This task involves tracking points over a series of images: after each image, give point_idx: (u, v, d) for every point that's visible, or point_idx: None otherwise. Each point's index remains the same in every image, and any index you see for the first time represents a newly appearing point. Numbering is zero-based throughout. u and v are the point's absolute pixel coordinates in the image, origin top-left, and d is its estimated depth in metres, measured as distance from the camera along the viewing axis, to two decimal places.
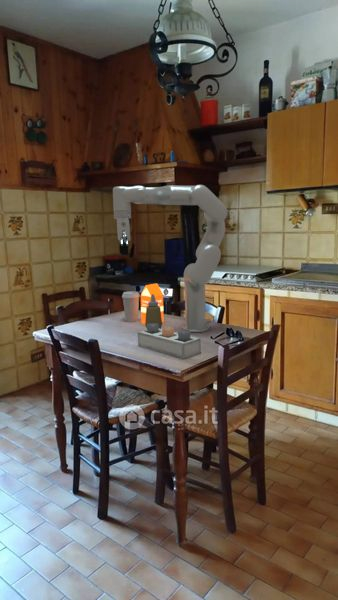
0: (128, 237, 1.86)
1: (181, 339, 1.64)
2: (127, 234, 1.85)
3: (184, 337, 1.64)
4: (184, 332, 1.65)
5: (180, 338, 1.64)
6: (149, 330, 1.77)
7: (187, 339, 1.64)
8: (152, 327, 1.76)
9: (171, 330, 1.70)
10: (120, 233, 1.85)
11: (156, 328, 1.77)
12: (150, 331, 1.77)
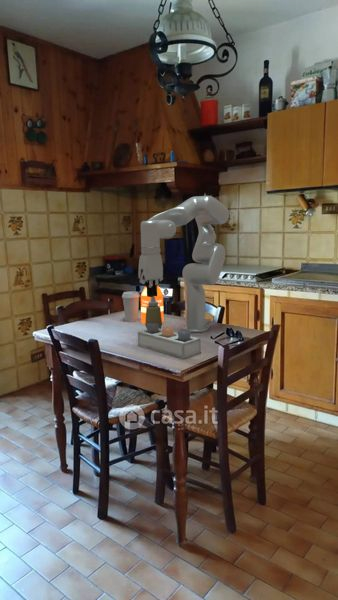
0: None
1: (181, 339, 1.64)
2: None
3: (184, 337, 1.64)
4: (184, 332, 1.65)
5: (180, 338, 1.64)
6: (149, 330, 1.77)
7: (187, 339, 1.64)
8: (152, 327, 1.76)
9: (171, 330, 1.70)
10: None
11: (156, 328, 1.77)
12: (150, 331, 1.77)
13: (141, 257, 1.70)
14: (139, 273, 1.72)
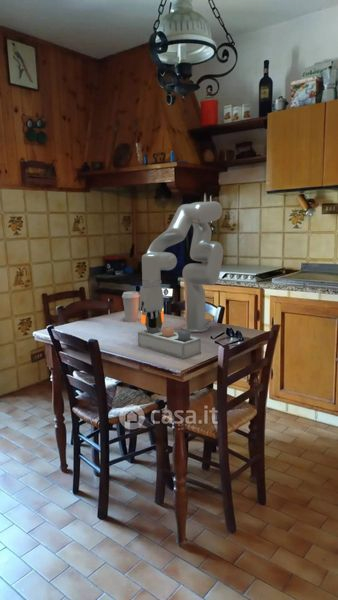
0: None
1: (181, 339, 1.64)
2: None
3: (184, 337, 1.64)
4: (184, 332, 1.65)
5: (180, 338, 1.64)
6: None
7: (187, 339, 1.64)
8: (152, 330, 1.76)
9: (171, 330, 1.70)
10: None
11: (156, 331, 1.77)
12: None
13: (142, 289, 1.72)
14: (140, 305, 1.74)
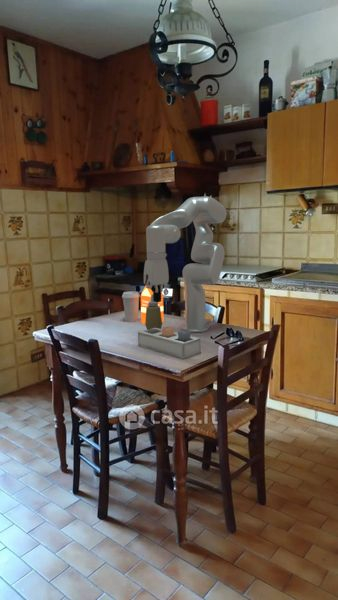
0: None
1: (181, 339, 1.64)
2: None
3: (184, 337, 1.64)
4: (184, 332, 1.65)
5: (180, 338, 1.64)
6: None
7: (187, 339, 1.64)
8: (152, 333, 1.77)
9: (171, 330, 1.70)
10: None
11: None
12: None
13: (147, 262, 1.68)
14: (144, 278, 1.70)
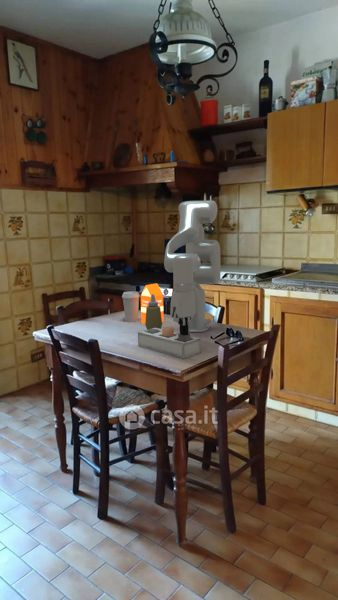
0: None
1: None
2: None
3: (184, 340, 1.64)
4: (184, 335, 1.65)
5: None
6: None
7: None
8: (152, 333, 1.77)
9: (171, 330, 1.70)
10: None
11: None
12: None
13: (174, 294, 1.60)
14: (171, 311, 1.61)
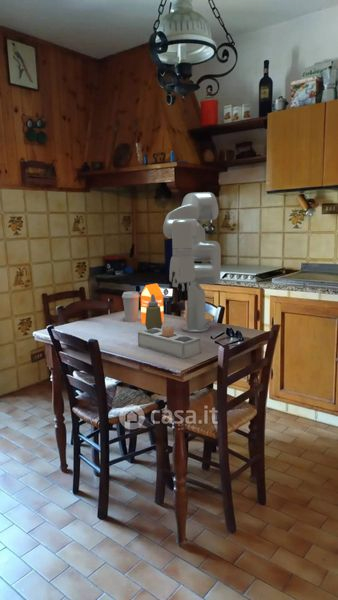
0: None
1: None
2: None
3: None
4: (184, 338, 1.65)
5: None
6: None
7: None
8: (152, 333, 1.77)
9: (171, 330, 1.70)
10: None
11: None
12: None
13: (173, 258, 1.58)
14: (170, 276, 1.60)
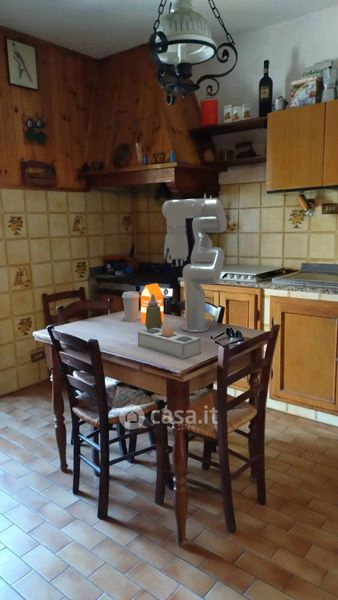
0: None
1: None
2: None
3: None
4: (184, 338, 1.65)
5: None
6: None
7: None
8: (152, 333, 1.77)
9: (171, 330, 1.70)
10: None
11: None
12: None
13: (168, 236, 1.71)
14: (165, 252, 1.72)
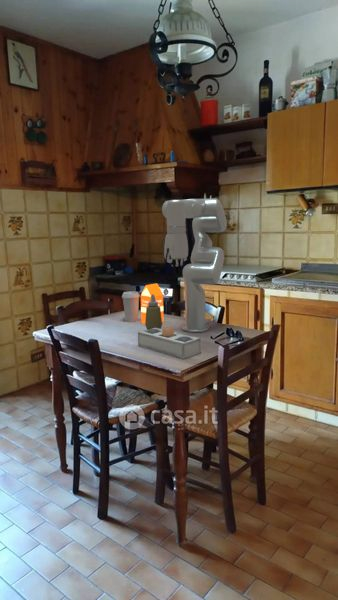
0: None
1: None
2: None
3: None
4: (184, 338, 1.65)
5: None
6: None
7: None
8: (152, 333, 1.77)
9: (171, 330, 1.70)
10: None
11: None
12: None
13: (168, 236, 1.71)
14: (165, 252, 1.72)
